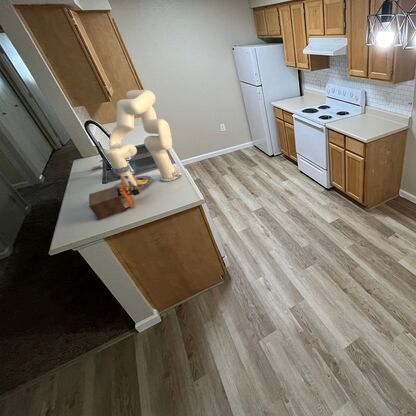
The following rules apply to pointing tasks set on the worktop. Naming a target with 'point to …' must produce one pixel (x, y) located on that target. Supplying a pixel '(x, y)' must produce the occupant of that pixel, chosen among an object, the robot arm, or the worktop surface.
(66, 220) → the worktop surface
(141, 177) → the food plate
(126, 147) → the robot arm
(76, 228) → the worktop surface
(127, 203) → the drawer
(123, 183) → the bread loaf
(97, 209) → the cabinet
